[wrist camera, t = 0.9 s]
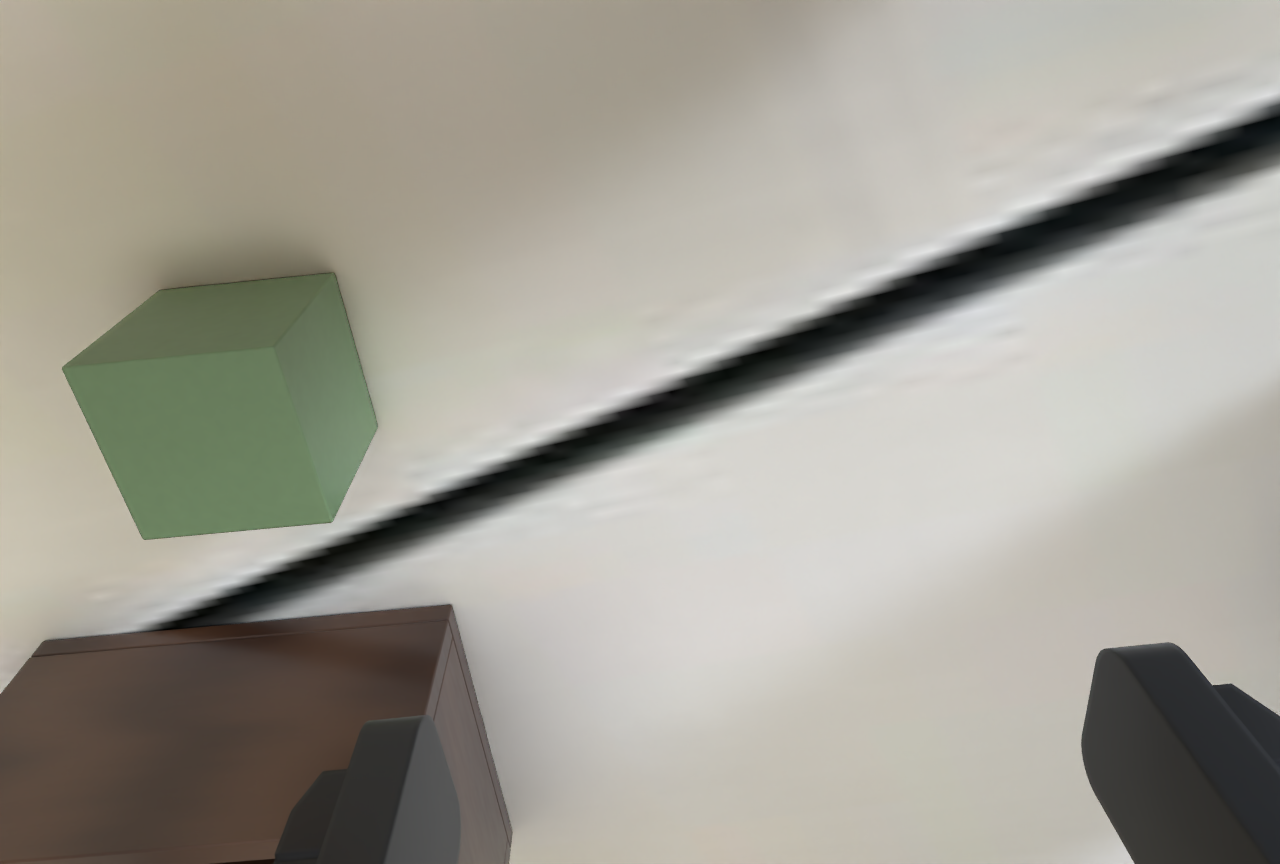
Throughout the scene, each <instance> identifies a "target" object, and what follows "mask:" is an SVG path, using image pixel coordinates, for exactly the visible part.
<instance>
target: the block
mask: <svg viewBox="0 0 1280 864" xmlns="http://www.w3.org/2000/svg"><path fill="white" fill-rule="evenodd" d="M62 370H63V372H64V374H65V376H66V379H67V381H68V383H69V385H70V387H71V389H72V391H73V393H74V395H75V397H76V400H77V402H78V404H79V406H80V408H81V410H82V412H83V414H84V416H85V418H86V421H87V423H88V425H89V427H90V429H91V431H92V433H93V435H94V437H95V439H96V442H97V444H98V446H99V448H100V450H101V452H102V454H103V456H104V458H105V460H106V463H107V465H108V467H109V469H110V471H111V473H112V475H113V477H114V479H115V481H116V484H117V486H118V488H119V490H120V492H121V494H122V496H123V498H124V500H125V502H126V505H127V507H128V509H129V511H130V513H131V515H132V517H133V519H134V521H135V523H136V526H137V528H138V530H139V532H140V534H141V536H142V538H143V539H144V540H148V539H159V538H170V537H181V536H192V535H203V534H213V533H224V532H235V531H246V530H257V529H268V528H278V527H289V526H300V525H311V524H322V523H331V522H333V520H334V518H335V516H336V514H337V512H338V510H339V507H340V505H341V503H342V501H343V499H344V497H345V495H346V493H347V491H348V489H349V487H350V485H351V482H352V480H353V478H354V476H355V474H356V472H357V470H358V468H359V466H360V464H361V462H362V459H363V457H364V455H365V453H366V451H367V449H368V447H369V445H370V443H371V441H372V439H373V436H374V434H375V432H376V430H377V428H378V425H377V421H376V418H375V414H374V411H373V407H372V404H371V400H370V397H369V393H368V390H367V386H366V383H365V379H364V376H363V372H362V368H361V365H360V361H359V358H358V354H357V351H356V347H355V344H354V340H353V337H352V333H351V330H350V326H349V323H348V319H347V316H346V312H345V309H344V305H343V302H342V298H341V295H340V291H339V288H338V284H337V281H336V277H335V274H334V273H326V274H316V275H306V276H296V277H287V278H277V279H267V280H257V281H247V282H237V283H227V284H217V285H207V286H197V287H187V288H177V289H167V290H159V291H158V292H157V293H155V294H154V295H153V296H152V297H150V298H149V299H148V300H147V301H145V302H144V303H143V304H142V305H140V306H139V307H138V308H136V309H135V310H134V311H133V312H131V313H130V314H129V315H128V316H126V317H125V318H124V319H123V320H121V321H120V322H119V323H118V324H116V325H115V326H114V327H112V328H111V329H110V330H109V331H107V332H106V333H105V334H104V335H102V336H101V337H100V338H99V339H97V340H96V341H95V342H93V343H92V344H91V345H90V346H88V347H87V348H86V349H85V350H83V351H82V352H81V353H80V354H78V355H77V356H76V357H75V358H73V359H72V360H71V361H69V362H68V363H67V364H66V365H64V366H63V367H62Z"/></svg>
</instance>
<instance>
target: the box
mask: <svg viewBox="0 0 1280 864" xmlns="http://www.w3.org/2000/svg"><path fill="white" fill-rule="evenodd" d="M421 715H429V716H431V718H432V719H433V721H434V723H435V726H436V729H437V732H438V735H439V738H440V741H441V744H442V748H443V751H444V754H445V757H446V760H447V763H448V766H449V770H450V773H451V776H452V779H453V782H454V785H455V788H456V792H457V795H458V799H459V804H460V813H461V843H460V852H459V858H458V864H509V859H510V847H511V841H512V829H511V825H510V821H509V818H508V814H507V810H506V806H505V803H504V799H503V795H502V791H501V788H500V784H499V780H498V776H497V773H496V769H495V765H494V761H493V758H492V754H491V750H490V746H489V743H488V739H487V735H486V731H485V728H484V724H483V720H482V716H481V713H480V709H479V705H478V701H477V698H476V694H475V690H474V686H473V683H472V679H471V675H470V671H469V668H468V664H467V660H466V656H465V653H464V649H463V645H462V641H461V638H460V634H459V630H458V626H457V623H456V619H455V615H454V611H453V608H452V605H443V606H432V607H420V608H409V609H398V610H387V611H375V612H364V613H353V614H342V615H331V616H319V617H308V618H297V619H286V620H275V621H263V622H252V623H241V624H230V625H218V626H207V627H196V628H185V629H174V630H162V631H151V632H140V633H129V634H118V635H106V636H95V637H84V638H73V639H61V640H50V641H44V642H42V643H41V645H40V646H39V647H38V648H37V650H36V651H35V652H34V653H33V655H32V657H31V658H29V659H28V661H27V662H26V663H25V664H24V666H23V667H22V668H21V669H20V671H19V672H18V673H17V674H16V675H15V677H14V678H13V679H12V680H11V682H10V683H9V684H8V685H7V687H6V688H5V689H4V690H3V692H2V693H1V694H0V864H271V863H274V861H275V855H274V854H275V852H276V849H277V846H278V844H279V841H280V839H281V836H282V833H283V831H284V828H285V825H286V823H287V820H288V817H289V815H290V812H291V810H292V809H293V808H294V806H295V805H296V804H297V803H298V801H299V800H300V799H301V798H302V796H303V795H304V794H305V793H306V791H307V790H308V789H309V788H310V786H311V785H312V784H313V783H314V781H315V780H316V779H317V778H318V776H319V775H320V774H321V773H322V771H330V770H340V769H348V766H349V763H350V760H351V757H352V754H353V750H354V747H355V744H356V741H357V738H358V735H359V733H360V730H361V728H362V727H363V725H364V724H365V723H366V722H367V721H371V720H381V719H391V718H401V717H411V716H421Z"/></svg>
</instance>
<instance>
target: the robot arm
mask: <svg viewBox="0 0 1280 864" xmlns="http://www.w3.org/2000/svg"><path fill="white" fill-rule="evenodd" d="M1081 746H1082V756H1083V762H1084V766H1085V770H1086V773H1087V776H1088V779H1089V782H1090V784H1091V787H1092V789H1093V791H1094V793H1095V795H1096V797H1097V798H1098V800H1099V802H1100V804H1101V805H1102V807H1103V809H1104V811H1105V812H1106V814H1107V816H1108V818H1109V819H1110V821H1111V823H1112V825H1113V826H1114V828H1115V830H1116V832H1117V833H1118V835H1119V837H1120V839H1121V840H1122V842H1123V844H1124V846H1125V847H1126V849H1127V851H1128V853H1129V854H1130V856H1131V858H1132V860H1133V861H1134V863H1135V864H1280V716H1279V715H1277V714H1276V713H1274V712H1273V711H1271V710H1270V709H1268V708H1267V707H1265V706H1264V705H1262V704H1261V703H1259V702H1258V701H1256V700H1255V699H1253V698H1252V697H1250V696H1249V695H1247V694H1246V693H1245V692H1243V691H1242V690H1240V689H1239V688H1237V687H1236V686H1234V685H1233V684H1223V685H1213V686H1212V685H1211V683H1210V682H1209V681H1208V680H1207V679H1206V677H1205V676H1204V675H1203V674H1202V672H1201V671H1200V670H1199V669H1198V668H1197V666H1196V665H1195V664H1194V663H1193V661H1192V660H1191V659H1190V658H1189V657H1188V655H1187V654H1186V653H1185V652H1184V651H1183V650H1182V649H1181V648H1180V647H1178V646H1177V645H1175V644H1173V643H1169V642H1168V643H1157V644H1148V645H1138V646H1128V647H1118V648H1108V649H1103V650H1101V651H1100V653H1099V654H1098V656H1097V659H1096V663H1095V668H1094V674H1093V679H1092V684H1091V690H1090V695H1089V700H1088V706H1087V711H1086V717H1085V722H1084V727H1083V733H1082V742H1081ZM460 843H461V813H460V804H459V799H458V795H457V792H456V788H455V785H454V782H453V779H452V776H451V773H450V770H449V766H448V763H447V760H446V757H445V754H444V751H443V748H442V744H441V741H440V738H439V735H438V732H437V729H436V726H435V723H434V721H433V719H432V718H431V716H429V715H421V716H411V717H401V718H391V719H381V720H371V721H367V722H366V723H365V724H364V725H363V727H362V728H361V730H360V733H359V735H358V738H357V741H356V744H355V747H354V750H353V754H352V757H351V760H350V763H349V766H348V769H340V770H330V771H322V773H321V774H320V775H319V776H318V778H317V779H316V780H315V781H314V783H313V784H312V785H311V786H310V788H309V789H308V790H307V791H306V793H305V794H304V795H303V796H302V798H301V799H300V800H299V801H298V803H297V804H296V805H295V806H294V808H293V809H292V810H291V812H290V815H289V817H288V820H287V823H286V825H285V828H284V831H283V833H282V836H281V839H280V841H279V844H278V846H277V849H276V852H275V854H274V855H275V861H274V863H271V864H458V858H459V852H460Z"/></svg>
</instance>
